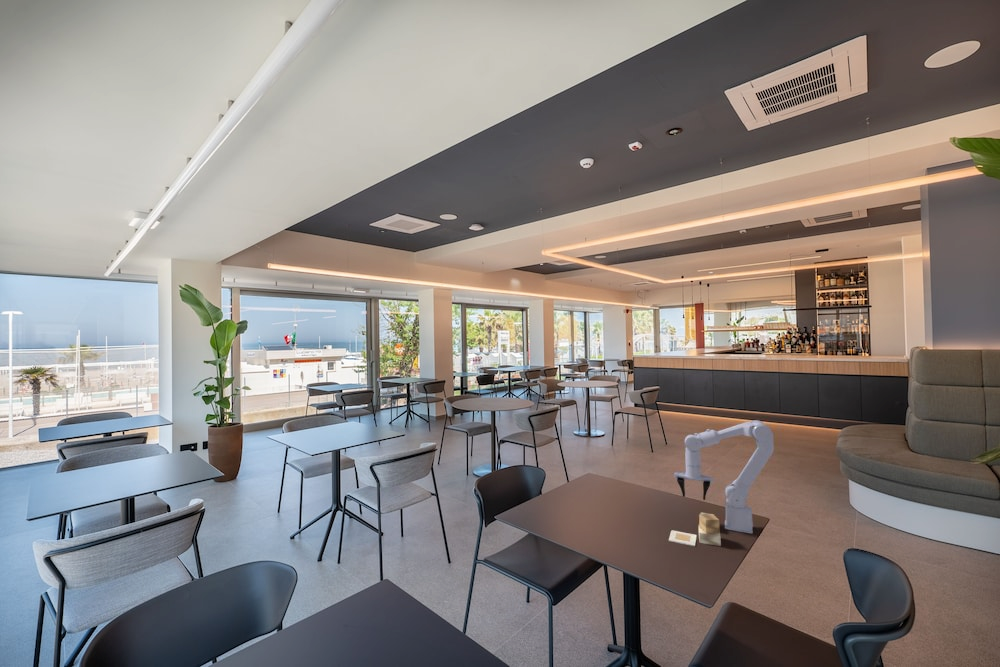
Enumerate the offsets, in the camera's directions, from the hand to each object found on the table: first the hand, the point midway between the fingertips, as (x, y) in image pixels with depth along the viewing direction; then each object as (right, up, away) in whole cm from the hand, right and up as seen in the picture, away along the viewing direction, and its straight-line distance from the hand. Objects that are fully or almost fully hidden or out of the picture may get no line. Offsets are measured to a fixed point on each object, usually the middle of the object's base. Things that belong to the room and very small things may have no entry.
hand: (694, 497), depth 171 cm
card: (-11, -10, -14) cm, 21 cm away
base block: (-2, -10, -16) cm, 19 cm away
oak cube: (-2, -6, -16) cm, 17 cm away
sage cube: (+3, -10, -6) cm, 12 cm away
